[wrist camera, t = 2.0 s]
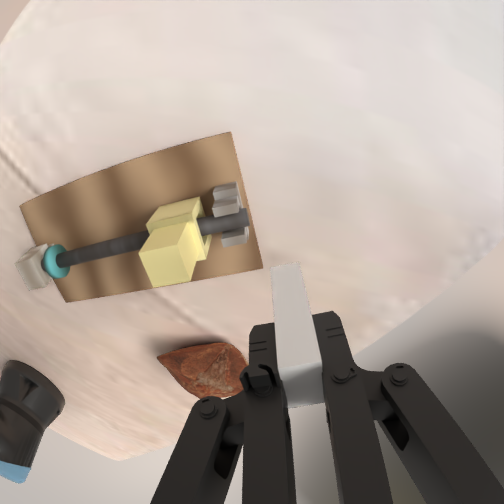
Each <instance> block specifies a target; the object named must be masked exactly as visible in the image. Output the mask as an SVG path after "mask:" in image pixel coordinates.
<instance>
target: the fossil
mask: <svg viewBox="0 0 504 504" xmlns="http://www.w3.org/2000/svg"><path fill="white" fill-rule="evenodd" d="M157 359H158V360H159V361H160V363H161V364H162V365H163V366H164V367H166V368H167V369H168V371H169V372H170V373H171V374H172V376H173V377H174V378H175V379H176V381H177V382H178V383H179V384H180V385H181V386H182V387H183V388H184V389H185V390H187V391H188V392H189V393H191V394H193V395H195V396H196V397H198V398H200V399H201V398H204V397H207V396H216V397H219V398H221V397H228V396H234V395H236V394H238V393H239V392H241V391H242V390H243V386H242V384H241V382H240V379H239V377H240V373H241V372H242V370H243V369H244V368H245V367H246V366H248V365H249V364H248V362H247V361H246V359H245V357H244V356H243V355H242V353H241V352H240V351H239V350H238V349H237V348H235V347H234V346H233V345H230V344H228V343H212V344H205V345H197V346H192V347H188V348H183V349H178V350H175V351H172V352H169V353H166V354H163V355H160V356H158V357H157Z"/></svg>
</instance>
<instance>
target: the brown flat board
mask: <svg viewBox="0 0 504 504" xmlns="http://www.w3.org/2000/svg"><path fill="white" fill-rule="evenodd" d="M199 196H200V200H201V203H202V206H203V210H204V213H205V217H200V218H196V221H197V224H198V227H199V230H200V233H201V236H205V235H209V234H211V236H212V238H211V242H210V246H209V250H208V254H207V258H206V259H205V260H200V261H196V264H195V267H194V271H193V274H192V277H191V281H189V282H192V281H197V280H203V279H208V278H214V277H219V276H225V275H230V274H236V273H241V272H246V271H252V270H257V269H262V268H263V264H262V259H261V255H260V251H259V247H258V242H257V238H256V234H255V230H254V226H253V221H252V217H251V213H250V209H249V205H248V200H247V196H246V192H245V188H244V184H243V180H242V175H241V171H240V167H239V163H238V159H237V155H236V151H235V146H234V142H233V138H232V134H231V132H228V133H224V134H219V135H215V136H211V137H207V138H203V139H200V140H196V141H192V142H188V143H185V144H181V145H178V146H174V147H171V148H167V149H164V150H161V151H157V152H154V153H151V154H148V155H145V156H142V157H139V158H136V159H133V160H130V161H127V162H124V163H121V164H118V165H115V166H112V167H110V168H107V169H104V170H101V171H99V172H96V173H93V174H91V175H88V176H86V177H83V178H81V179H78V180H76V181H73V182H71V183H68V184H66V185H64V186H61V187H59V188H56V189H54V190H52V191H50V192H47V193H45V194H43V195H41V196H38V197H36V198H34V199H32V200H30V201H28V202H26V203H24V204H22V205H20V208H21V211H22V213H23V216H24V218H25V221H26V223H27V225H28V228H29V230H30V232H31V235H32V237H33V239H34V241H35V244H36V246H37V247H34V248H31V249H30V250H29V251H28V252H27V253H26V254H25V255H24V256H23V257H21V258H20V259H19V260H18V261H17V262H16V263H15V265H16V267H17V269H18V271H19V273H20V275H21V277H22V278H23V280H24V282H25V284H26V286H27V288H28V289H29V291H30V290H34V289H39V288H44V287H46V285H47V284H48V283H49V282H50V281H51V280H52V278H53V280H54V282H55V284H56V285H57V287H58V289H59V291H60V293H61V294H62V296H63V298H64V300H65V302H66V303H68V302H74V301H80V300H86V299H92V298H99V297H105V296H111V295H117V294H123V293H129V292H134V291H140V290H146V289H152V288H153V286H152V284H151V281H150V279H149V277H148V275H147V272H146V270H145V268H144V265H143V263H142V261H141V258H140V256H139V251H140V250H141V248H142V247H143V245H144V244H145V242H146V240H147V239H148V237H149V236H150V234H149V231H148V229H147V226H146V223H147V222H148V221H149V219H150V218H151V217H152V215H153V214H154V213H155V211H156V210H157V209H158V208H159V206H163V205H167V204H171V203H175V202H179V201H183V200H187V199H191V198H195V197H199ZM183 283H186V282H183ZM178 284H180V283H178ZM172 285H175V284H172ZM166 286H169V285H166ZM161 287H163V286H161ZM155 288H158V287H155Z"/></svg>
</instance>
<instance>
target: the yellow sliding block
mask: <svg viewBox="0 0 504 504" xmlns="http://www.w3.org/2000/svg"><path fill="white" fill-rule="evenodd" d="M200 217H205V213H204V210H203V206H202V203H201V200H200V196H199V197H195V198H191V199H187V200H183V201H179V202H175V203H171V204H167V205H163V206H159V208H158V209H157V210H156V211H155V213H154V214H153V215H152V217H151V218H150V219H149V221H148V222H147V223H146V226H147V229H148V231H149V234H150V236H149V237H148V239H147V240H146V242H145V244H144V245H143V247H142V248H141V250H140V251H139V256H140V258H141V261H142V263H143V265H144V268H145V270H146V272H147V275H148V277H149V279H150V281H151V284H152V286H153V288H155V287H161V286H166V285H172V284H178V283H183V282H189V281H191V277H192V274H193V271H194V267H195V264H196V261H200V260H205V259H206V258H207V254H208V250H209V246H210V242H211V238H212V236H211V234H209V235H205V236H201V233H200V230H199V227H198V224H197V221H196V218H200Z"/></svg>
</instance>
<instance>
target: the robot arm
mask: <svg viewBox="0 0 504 504" xmlns="http://www.w3.org/2000/svg"><path fill="white" fill-rule="evenodd" d="M270 273H271V285H272V297H273V310H274V323H268V324H262V325H256V326H254V327H253V329H252V331H251V332H250V334H249V365H248V366H246V367H245V368H244V369H243V370H242V372H241V373H240V377H239V379H240V382H241V384H242V386H243V390H242V391H241V392H239V393H238V394H236V395H234V396H231V397H229V398H226V399H223V400H222V399H221V398H219V397H216V396H207V397H204V398H201V399H200V400H198V401H197V402H196V403H195V404H194V406H193V407H192V409H191V412H190V414H189V416H188V419H187V421H186V423H185V426H184V428H183V430H182V432H181V435H180V437H179V439H178V442H177V444H176V446H175V449H174V451H173V453H172V455H171V457H170V460H169V462H168V464H167V467H166V469H165V471H164V473H163V476H162V478H161V480H160V482H159V485H158V487H157V489H156V491H155V494H154V496H153V498H152V501H151V503H150V504H224V501H225V498H226V495H227V492H228V489H229V486H230V483H231V480H232V477H233V474H234V471H235V468H236V465H237V461H238V458H239V455H240V452H241V449H242V446H243V487H242V504H297V503H296V489H295V475H294V462H293V449H292V437H291V425H290V418H289V414H288V408H295V407H301V406H307V405H312V404H318V403H324V402H325V405H326V416H327V423H328V427H329V433H330V439H331V445H332V452H333V459H334V466H335V473H336V480H337V487H338V495H339V501H340V504H393V501H392V496H391V491H390V487H389V482H388V477H387V473H386V469H385V464H384V460H383V456H382V452H381V448H380V443H379V439H378V436H377V432H376V428H375V424H374V420H377V421H378V423H379V425H380V426H381V428H382V430H383V431H384V433H385V435H386V436H387V438H388V440H389V441H390V443H391V445H392V446H393V448H394V449H395V451H396V453H397V454H398V456H399V458H400V459H401V461H402V463H403V464H404V466H405V468H406V469H407V471H408V473H409V474H410V476H411V478H412V479H413V481H414V483H415V485H416V486H417V488H418V489H419V491H420V493H421V495H422V496H423V498H424V500H425V501H426V503H427V504H504V489H503V487H502V486H501V485H500V483H499V481H498V480H497V479H496V477H495V476H494V474H493V473H492V471H491V470H490V468H489V467H488V466H487V464H486V463H485V461H484V460H483V458H482V457H481V456H480V454H479V453H478V452H477V450H476V449H475V448H474V446H473V445H472V443H471V442H470V441H469V439H468V438H467V436H466V435H465V434H464V432H463V431H462V430H461V428H460V427H459V426H458V424H457V423H456V422H455V420H454V419H453V418H452V417H451V415H450V414H449V413H448V411H447V410H446V409H445V407H444V406H443V405H442V404H441V402H440V401H439V400H438V398H437V397H436V396H435V395H434V393H433V392H432V391H431V390H430V388H429V387H428V386H427V384H426V383H425V382H424V381H423V379H422V378H421V377H420V376H419V374H418V373H417V372H416V371H415V369H413V368H412V367H411V366H410V365H407V364H404V363H396V364H393V365H390V366H389V367H387V368H386V369H385V370H384V372H376V371H367V370H364V369H361V368H360V367H358V366H357V365H356V364H355V362H354V360H353V358H352V354H351V351H350V348H349V345H348V341H347V338H346V335H345V332H344V329H343V326H342V323H341V319H340V317H339V316H338V315H337V314H336V313H335V312H333V311H330V312H325V313H319V314H314V315H312V314H311V310H310V305H309V301H308V297H307V292H306V288H305V284H304V280H303V276H302V271H301V267H300V263H299V262H296V263H291V264H285V265H280V266H275V267H270ZM64 405H65V400H64V397H63V395H62V394H61V392H60V391H59V390H58V389H57V388H56V386H55V385H54V384H53V383H52V382H50V381H49V380H48V379H47V378H46V377H45V376H43V375H42V374H41V373H39V372H38V371H36V370H35V369H33V368H32V367H30V366H28V365H26V364H24V363H21V362H18V361H9V362H7V364H6V365H5V367H4V369H3V371H2V376H1V380H0V475H1V476H3V477H5V478H7V479H9V480H11V481H13V482H15V483H23V482H24V481H25V480H26V478H27V476H28V473H29V471H30V470H31V466H32V463H33V460H34V457H35V454H36V452H37V449H38V446H39V444H40V441H41V438H42V436H43V433H44V431H45V429H46V428H47V427H48V426H49V425H50V424H51V423H52V422H53V421H54V420H55V419H56V418H57V416H58V415H60V414H61V412H62V410H63V408H64Z"/></svg>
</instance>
